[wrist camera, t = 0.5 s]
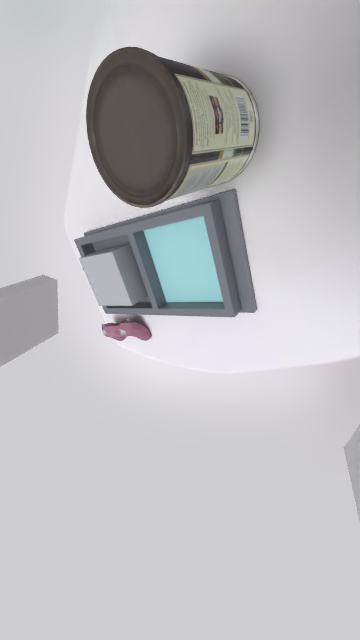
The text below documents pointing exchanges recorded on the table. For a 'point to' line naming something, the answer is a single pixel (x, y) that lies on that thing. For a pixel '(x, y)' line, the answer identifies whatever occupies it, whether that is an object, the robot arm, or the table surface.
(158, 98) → the coffee can
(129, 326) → the video game controller
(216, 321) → the table surface
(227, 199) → the grey compartment tray
